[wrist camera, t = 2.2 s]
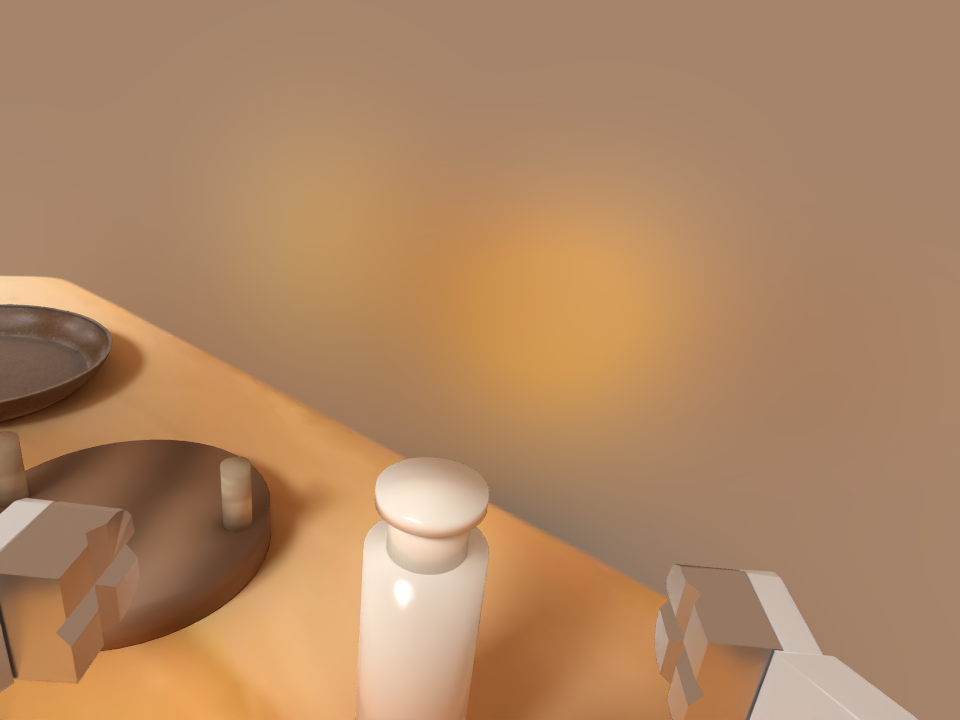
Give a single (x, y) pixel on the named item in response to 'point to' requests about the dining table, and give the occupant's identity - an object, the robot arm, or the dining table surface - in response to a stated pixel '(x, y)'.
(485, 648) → the dining table surface
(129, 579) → the robot arm
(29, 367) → the plant saucer
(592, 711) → the dining table surface
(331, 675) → the dining table surface
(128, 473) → the pedestal
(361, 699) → the bud vase
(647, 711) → the dining table surface
